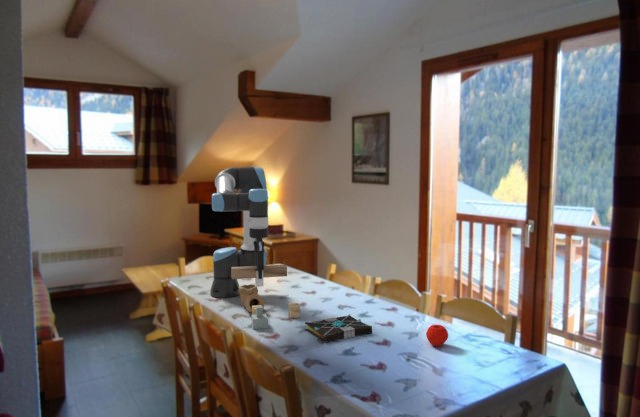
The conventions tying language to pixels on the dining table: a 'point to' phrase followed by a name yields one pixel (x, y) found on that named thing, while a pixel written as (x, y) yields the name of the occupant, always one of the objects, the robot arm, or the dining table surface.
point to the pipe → (250, 296)
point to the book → (338, 328)
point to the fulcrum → (259, 319)
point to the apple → (437, 335)
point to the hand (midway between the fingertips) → (259, 284)
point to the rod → (251, 273)
